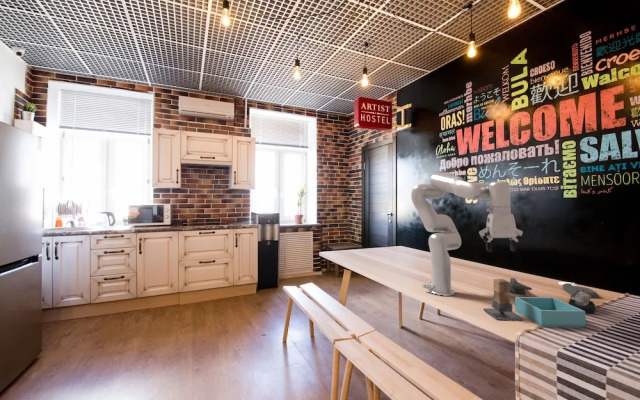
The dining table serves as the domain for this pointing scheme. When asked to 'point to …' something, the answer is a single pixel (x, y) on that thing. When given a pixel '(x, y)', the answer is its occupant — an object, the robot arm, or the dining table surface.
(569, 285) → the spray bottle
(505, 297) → the strut
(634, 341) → the dining table surface
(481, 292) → the dining table surface
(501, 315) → the base
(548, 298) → the bin
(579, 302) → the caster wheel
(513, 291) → the zipper pull
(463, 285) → the dining table surface
